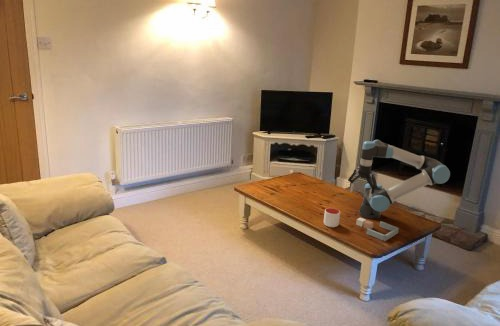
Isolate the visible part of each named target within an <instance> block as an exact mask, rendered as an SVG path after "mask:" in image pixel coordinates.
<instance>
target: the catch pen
mask: <svg viewBox="0 0 500 326" xmlns="http://www.w3.org/2000/svg"><path fill="white" fill-rule="evenodd" d="M379 227H380V228H382V229H385V230H388V231H389V232H387V233H386V234H384V233H381V232H378V231H376V230H374V229H366V231H365V232H366V235H368V236H371V237H373V238H376V239H378V240H380V241H382V242H387V241H388V240H389V239H391V238H392V237H395V236H396V235H397V234H399V230H400V227H398V226H394V225H392V224H389V223H387V222H384V221H379Z"/></svg>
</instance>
